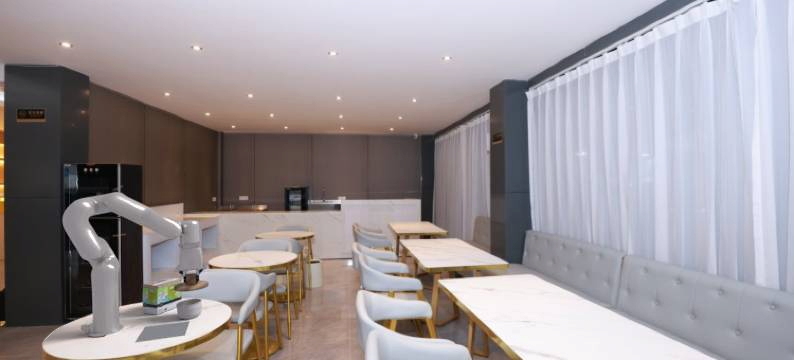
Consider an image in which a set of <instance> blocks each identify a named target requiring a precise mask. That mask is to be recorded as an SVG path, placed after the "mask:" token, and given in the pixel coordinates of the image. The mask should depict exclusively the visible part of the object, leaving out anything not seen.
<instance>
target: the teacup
mask: <svg viewBox="0 0 794 360" xmlns="http://www.w3.org/2000/svg"><path fill="white" fill-rule="evenodd" d="M176 306H177V308H176V312H177V317H178V318H179V319H181V320H185V321H187V320H193V319H195V318H199V315H201V314H202V312H203V310H202V308H203V307H202V299H201V298H199V297H195V298H190V299H185V300H182V301H181V302H179V303H177V304H176Z"/></svg>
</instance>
